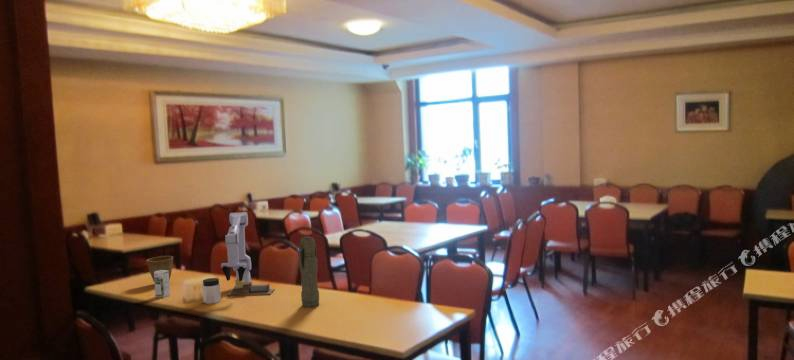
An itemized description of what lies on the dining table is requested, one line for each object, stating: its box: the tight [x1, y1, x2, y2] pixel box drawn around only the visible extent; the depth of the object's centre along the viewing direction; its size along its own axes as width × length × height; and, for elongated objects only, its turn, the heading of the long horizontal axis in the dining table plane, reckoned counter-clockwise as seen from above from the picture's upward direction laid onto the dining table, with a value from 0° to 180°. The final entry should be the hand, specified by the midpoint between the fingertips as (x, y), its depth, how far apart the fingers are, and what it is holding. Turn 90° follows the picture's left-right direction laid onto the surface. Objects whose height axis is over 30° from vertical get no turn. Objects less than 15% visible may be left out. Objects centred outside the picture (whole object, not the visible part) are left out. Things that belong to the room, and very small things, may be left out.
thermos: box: [297, 236, 320, 308], centre depth 296 cm, size 9×12×35 cm
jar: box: [202, 277, 222, 305], centre depth 311 cm, size 9×8×12 cm
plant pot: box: [146, 255, 174, 284], centre depth 356 cm, size 15×15×16 cm
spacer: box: [234, 277, 245, 287], centre depth 326 cm, size 4×4×4 cm
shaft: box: [233, 283, 271, 292], centre depth 326 cm, size 3×19×3 cm, turn 89°
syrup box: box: [153, 270, 171, 299], centre depth 327 cm, size 6×6×14 cm
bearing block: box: [226, 281, 276, 297], centre depth 326 cm, size 10×24×6 cm, turn 89°
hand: (234, 280), depth 316 cm, fingers open, 7 cm apart
